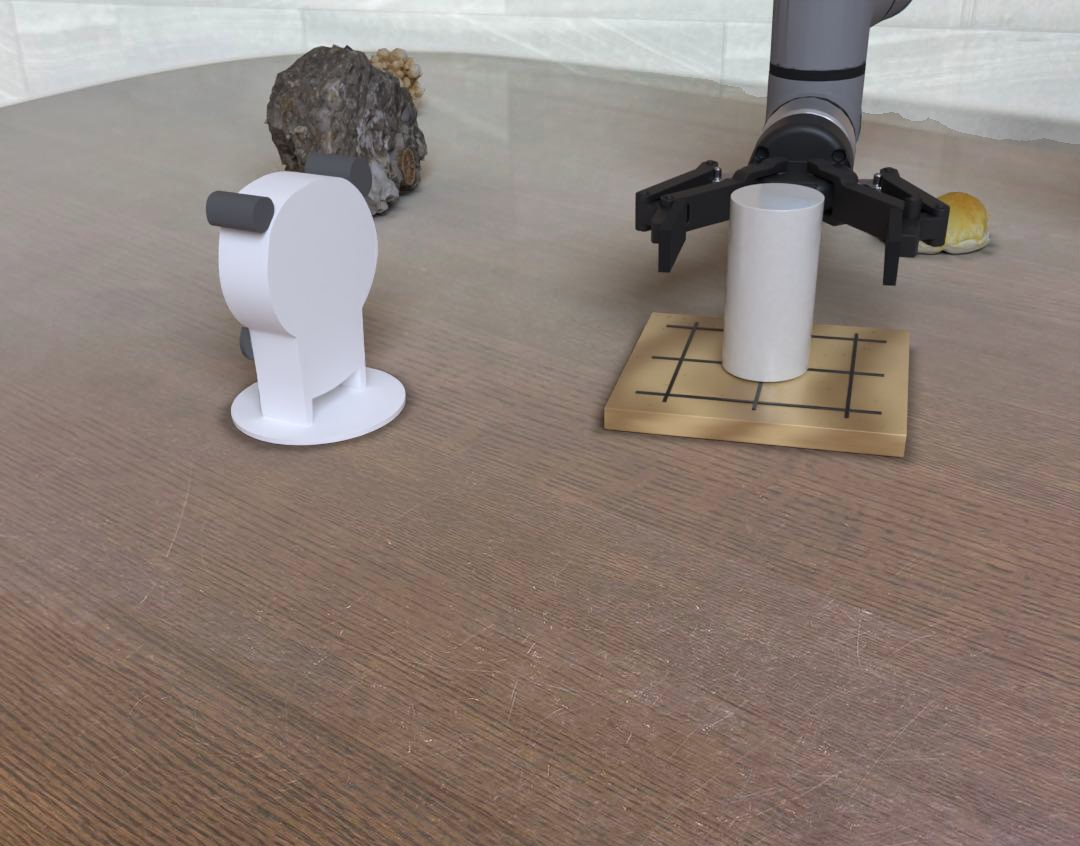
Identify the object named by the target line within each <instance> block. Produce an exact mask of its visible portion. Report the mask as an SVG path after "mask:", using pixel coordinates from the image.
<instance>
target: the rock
mask: <svg viewBox="0 0 1080 846" xmlns="http://www.w3.org/2000/svg"><path fill="white" fill-rule="evenodd" d="M369 60H370V59H369V58H368V56H367V55H366V53H365V51H362V50H356V49H354V48H352V47H351V46H350V45H349V44H346V45H345V46H344V47H341V46H339V45H338V44H334V43H333V44H332V46H326V45H319V46H316V47H313V48H312V49H311V50H308V51H307V52H306V53H304V54H303V55H301V56H300V57H298V58H297V59H296V60H295V61H294V62H293V63H292V64H291V65H290V66H288V67H287V68H286V69H284V70H282V71H280V72H278V73H276V76H275V79H274V80H275V81H274V84H273V86H272V87H271V91H270V92H271V94H269V99H268V100H269V101H268V103H267V104H266V119H265V120H264V122H263V124H266V125H267V126H268V131H269V133H270V135H271V141H272V143H273V144H274V146H275V147H276V150H277V153H278V155H279V158H280V163H281V165H282V166H285V168H284V171H291V172H299V173H305V164H306V161H307V159H308V157H309V155H310V154H311V153H313V152H317V153H325V154H334V155H343V156H352V157H360V158H363V159H365V160H366V161H367V162H368V164H369V166H370V169H371V173H372V187H371V191H370V193H369V194H368V196H366V197H364V199H365V201H366V203H367V205H368V207H369V209H370V212H371V215H372V216H375V215H376V214H383V213H384V212H385V211H386V210H388V209H390V206H392V205H393V204H394V203H396V202H397V201H399V198H400V192H401V191H410V190H413V189H414V188H415V187H416V185H417V184H418V183H421V182H422V177H421V173H420V172H421V171H422V170H423V168H422V165H421V162H425V161H426V160H425V159H426V158H425V156H427V155H428V154H429V152H428V146H427V143H426V137H425V134H424V132H423V130H421V128H419V122H418V109H417V110H416V107H415V105H414V104H413V100H412V96H411V94H410V92H409V91H408V89H407V87H400V81H399V78H398V77H395V76H394V75H393V73H391V72H388V71H386V70H377V69H376V67H375V66H373V65H372V64H371V63H370V62H369Z"/></svg>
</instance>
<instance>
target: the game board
mask: <svg viewBox="0 0 1080 846" xmlns="http://www.w3.org/2000/svg"><path fill="white" fill-rule="evenodd" d="M723 326H724V316H711V315H697V314H695V315H694V314H682V313H681V314H680V313H669V312H667V313H666V312H655V311H654V312H651V313H650V316H649V318H648V319H647V322H646V324H645V325H644V328H643V329H642V332H641V334H640V336H639V337H638V338H639V339H638V340H637V341H636V343H635V345H634V347H633V350H632V352H631V354H630V355H629V358H628V360H627V361H626V364H625V366H624V368H623V370H622V372H621V374H620V375H619V378H618V380H617V382H616V384H615V387H614V388H613V390H612V392H611V394H610V396H609V398H608V400H607V401H606V404H605V405H604V407H603V412H604V413H603V428H604V430H609V431H619V432H631V433H639V434H641V433H642V434H652V435H660V436H661V435H662V436H673V437H682V438H693V439H694V438H695V439H705V440H714V441H715V440H716V441H726V442H737V443H746V444H758V445H766V446H767V445H768V446H769V445H770V446H778V447H789V448H800V449H809V450H821V451H831V452H840V453H841V452H842V453H853V454H862V455H874V456H884V457H885V456H886V457H893V458H895V457H896V458H904V456H905V450H906V443H907V437H908V408H909V407H908V405H909V374H910V373H909V372H910V371H909V370H910V368H909V366H910V342H911V341H910V340H911V339H910V337H911V330H907V329H906V330H905V329H893V328H882V327H881V328H880V327H866V326H853V325H837V324H826V323H825V324H823V323H821V324H820V323H813V326H812V336H811V347H810V357H809V367H808V369H807V371H806V372H805V373H804V374H802V375H801V376H799V377H797V378H794V379H790V380H786V381H779V382H759V381H751V380H746V379H742V378H739V377H736V376H734V375H732V374H730V373H729V372H727V371H726V370H725V369H724V368H723V366H722V345H723Z"/></svg>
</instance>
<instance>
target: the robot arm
mask: <svg viewBox="0 0 1080 846" xmlns="http://www.w3.org/2000/svg"><path fill="white" fill-rule="evenodd" d="M912 1H913V0H772V15H771V16H772V18H771V33H770V34H771V35H770V36H771V37H770V50H769V51H770V52H769V53H770V54H769V66H768V67H769V68H768V76H767V77H768V78H767V89H766V90H767V91H766V106H765V119H764V124H763V127H762V129H761V132H760V134H759V136H758V138H757V140H756V144H755V146H754V148H753V150H752V153H751V155H750V157H749V159H748V163H747V165H745V166H742V167H741V168H738V169H737V170H736V171H734V172H733V173H731V172H723V168H722V167H721V166H719V162H718V161H716V160H713V159H708V160H704V161H702V162H700V164H699V165H698V166H697V167H696V168H694V169H692V170H689V171H686V172H684V173H681V174H678V175H677V176H674V177H672V178H668V179H666V180H664V181H661V182H659V183H656V184H653V185H651V186H648V187H645V188H643V189H641V190H638V191H636V192H635V197H634V198H635V199H634V200H635V203H634V204H635V207H634V208H635V209H634V212H635V213H634V220H635V221H634V229H635V230H636V231H637V232H642V233H646V232H648V231H649V232H650V241H651V243H652V244H654V245H658V251H657V253H658V254H657V255H658V257H657V273H663V274H665V273H666V274H670V273H671V271H672V270H673V268H674V266H675V263H676V261H677V259H678V257H679V255H680V253H681V251H682V249H683V247H684V245H685V242H686V240H687V233H688V232H691V231H694V230H698V229H703V228H705V227H709V226H712V225H716V224H721V223H724V222H727V221H728V222H729V214H730V197H731V194H732V193H733V192H734V191H735V190H737V189H739V188H742V187H745V186H750V185H756V184H765V183H784V184H795V185H801V186H806V187H810V188H813V189H815V190H818V191H819V192H821V193H822V194H823V195H824V197H825V201H824V211H823V222H822V223H824V224H827V225H829V226H832V227H838V226H839V227H840V226H843V225H847V226H848V227H851V228H854V229H857V230H858V231H861V232H863V233H865V234H868V235H870V236H872V237H875V238H878V239H880V240H882V241H884V242H885V245H884V258H883V274H882V275H883V276H882V286H890V287H891V286H892V287H896V286H897V279H898V271H899V264H900V258H908V259H909V258H910V259H912V258H913V259H914V258H915V257H917V256H918V253H917V252H918V245H919V241H922V242H924V243H925V244H927V245H929V246H932V247H938V246H939V247H941V246H943V245H945V239H946V233H947V226H948V220H949V213H950V206H949V205H947V204H946V203H944V202H942V201H940V200H939V199H937V198H938V197H935V196H934V195H932V194H930V193H928V192H927V191H925V190H923V189H922V188H920V187H918V186H917V185H915V184H913V183H911V182H910V181H908V180H906V179H905V178H903V177H901V175H900V173H899V170H898V169H897V168H894V167H892V166H886V167H883V168H880V169H879V172H875V173H874V174H873V178H859V176H858V174H857V173H856V172H855V171H854V167H855V159H856V153H857V144H858V141H859V140H860V135H861V129H862V121H863V120H862V119H863V108H862V107H863V106H862V105H863V97H864V87H865V79H866V68H867V57H868V47H869V40H870V30H871V28H873V27H874V26H876V25H878V24H880V23H881V22H883V21H886V20H888V19H891V18H894V17H895V16H897V15H899V14H901V13H902V12H903V11H904V10H906V8H908V6H909V5H910V4H911V3H912Z"/></svg>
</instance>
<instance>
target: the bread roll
mask: <svg viewBox="0 0 1080 846" xmlns="http://www.w3.org/2000/svg"><path fill="white" fill-rule="evenodd" d="M936 198H937V199H939V200H940V201H942V202H944V203H946V204H947V205H949V206H950V213H949V220H948V226H947V233H946V239H945V245H943V246H941V247H939V246H938V247H932V246H929V245H927V244H925V243H924V242H922V241H919V245H918V252H917V254H925V255H935V254H938V253H941V252H942V251H943V252H946V253H947V254H951V255H961V254H967V253H972V252H975V251H977V250H981V249H983V248H984V247H986V246H988V244H990V240H991V239H990V223H991V214H989V210H988V209H987V208H986V207H985V205H984V203H983V202H982V201H981V200H980V199H978V198H977V197H975V196H974V195H972V194H969V193H966V192H962V191H950V192H947V193H945V194H942V195H939V196H937V197H936Z"/></svg>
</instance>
